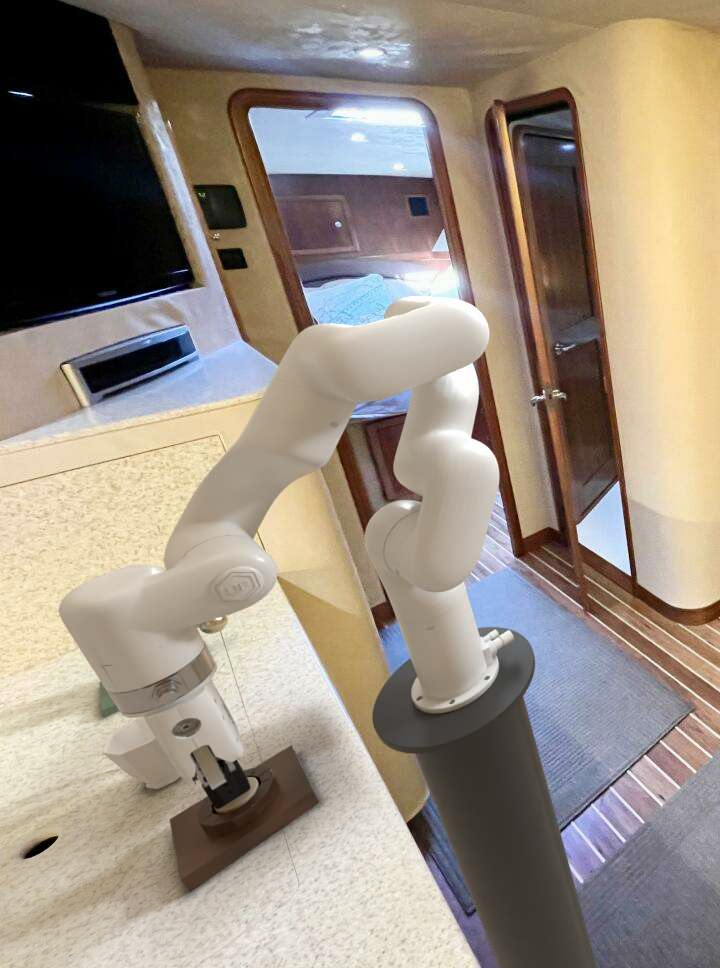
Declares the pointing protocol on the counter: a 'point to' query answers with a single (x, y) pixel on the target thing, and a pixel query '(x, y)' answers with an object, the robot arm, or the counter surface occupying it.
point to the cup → (140, 754)
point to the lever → (213, 625)
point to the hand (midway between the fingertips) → (232, 795)
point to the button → (240, 798)
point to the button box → (241, 819)
